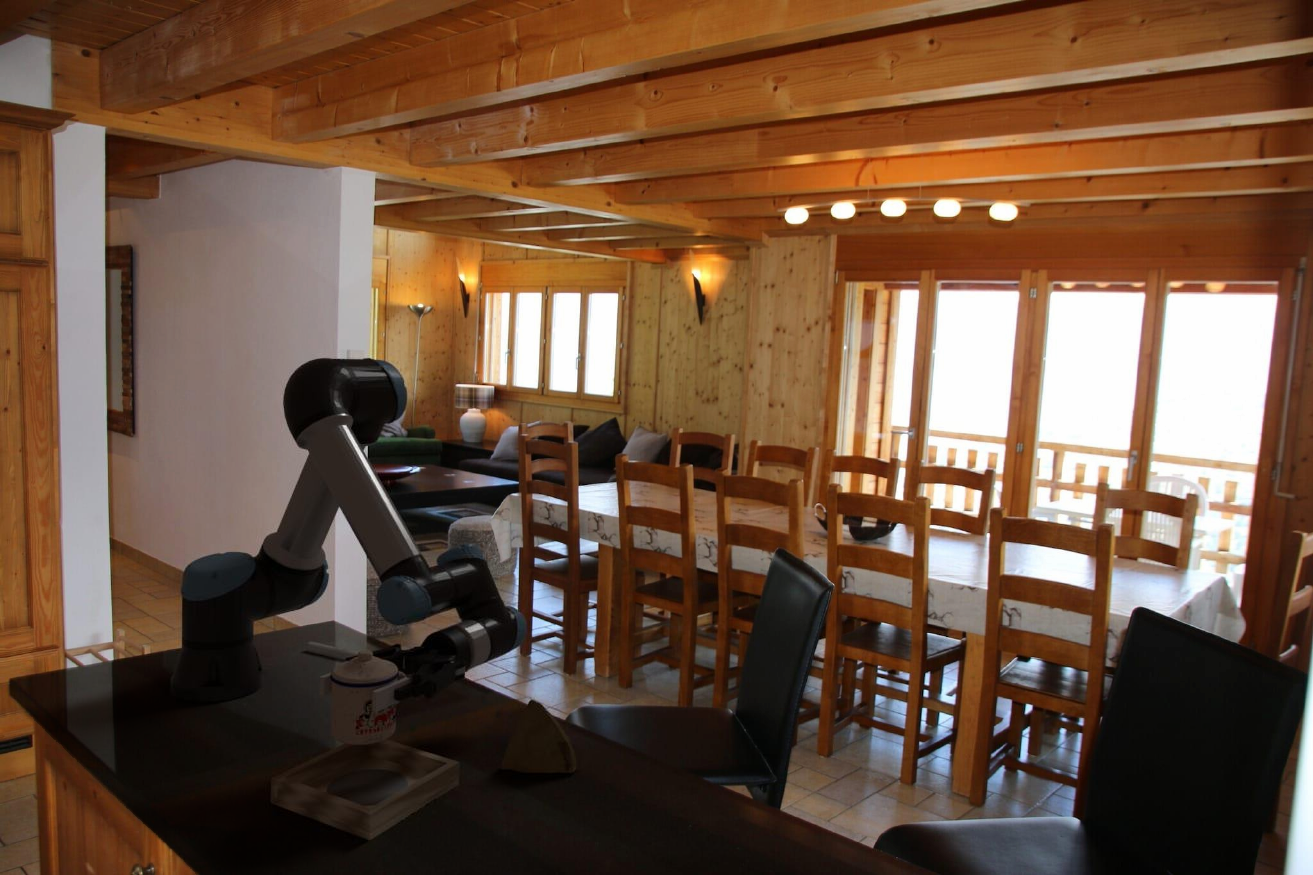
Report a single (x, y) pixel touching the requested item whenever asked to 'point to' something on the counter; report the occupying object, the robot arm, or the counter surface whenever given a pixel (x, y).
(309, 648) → the marker
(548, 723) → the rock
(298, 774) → the housing tray
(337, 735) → the teacup with lid
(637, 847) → the counter surface
